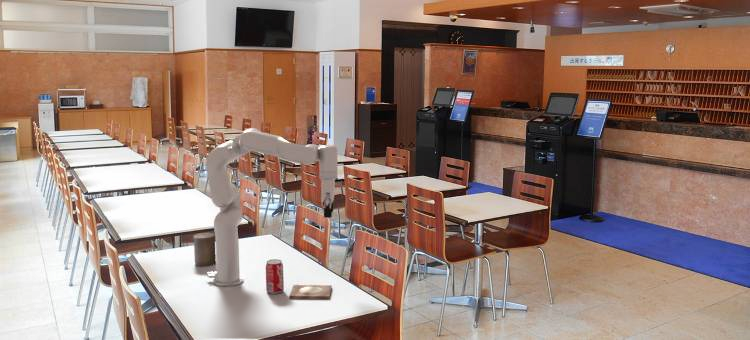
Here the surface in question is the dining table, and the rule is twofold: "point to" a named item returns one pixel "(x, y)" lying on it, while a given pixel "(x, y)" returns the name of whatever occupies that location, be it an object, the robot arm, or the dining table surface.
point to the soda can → (274, 276)
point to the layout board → (310, 292)
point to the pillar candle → (204, 249)
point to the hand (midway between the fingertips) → (328, 214)
